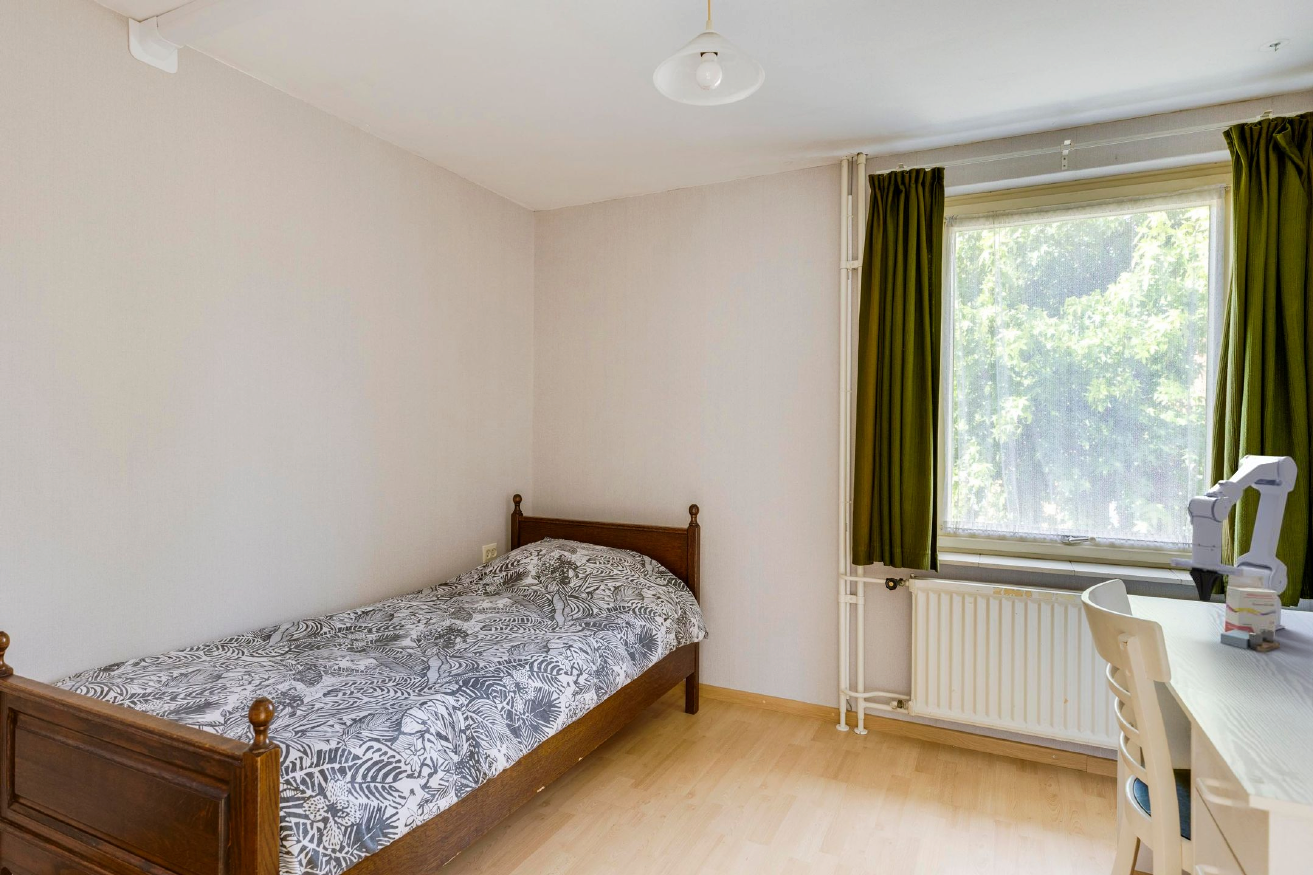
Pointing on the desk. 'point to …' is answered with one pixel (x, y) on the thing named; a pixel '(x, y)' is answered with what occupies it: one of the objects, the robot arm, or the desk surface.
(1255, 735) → the desk surface
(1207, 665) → the desk surface
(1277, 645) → the bench dogs
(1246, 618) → the ink cartridge box
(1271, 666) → the desk surface
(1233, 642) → the pale blue chamfered block
